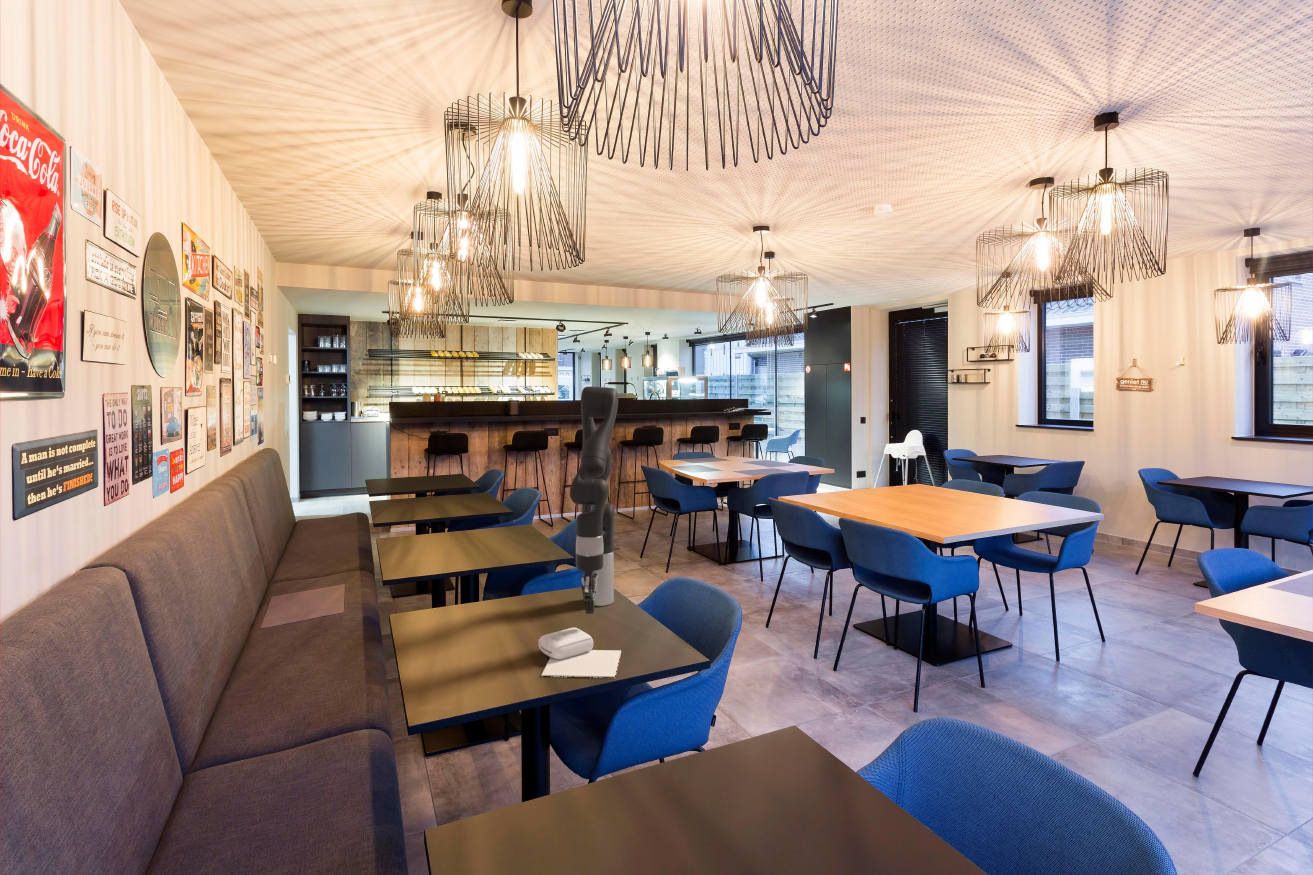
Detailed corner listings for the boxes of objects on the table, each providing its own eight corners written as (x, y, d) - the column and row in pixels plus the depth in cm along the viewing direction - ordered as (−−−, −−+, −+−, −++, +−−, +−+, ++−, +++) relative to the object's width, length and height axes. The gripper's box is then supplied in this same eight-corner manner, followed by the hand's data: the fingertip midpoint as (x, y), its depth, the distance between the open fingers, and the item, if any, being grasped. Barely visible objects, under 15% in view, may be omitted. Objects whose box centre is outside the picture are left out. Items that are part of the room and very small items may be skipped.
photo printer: (574, 639, 176) (534, 651, 169) (574, 624, 176) (534, 635, 168) (594, 651, 168) (553, 664, 161) (594, 636, 168) (553, 647, 160)
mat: (554, 650, 170) (554, 649, 170) (621, 652, 169) (621, 650, 169) (541, 676, 154) (541, 674, 154) (615, 678, 153) (615, 676, 153)
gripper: (579, 544, 180) (580, 604, 181) (571, 557, 167) (572, 621, 168) (606, 545, 179) (606, 604, 181) (600, 557, 166) (600, 621, 168)
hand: (589, 612), depth 174 cm, fingers closed
